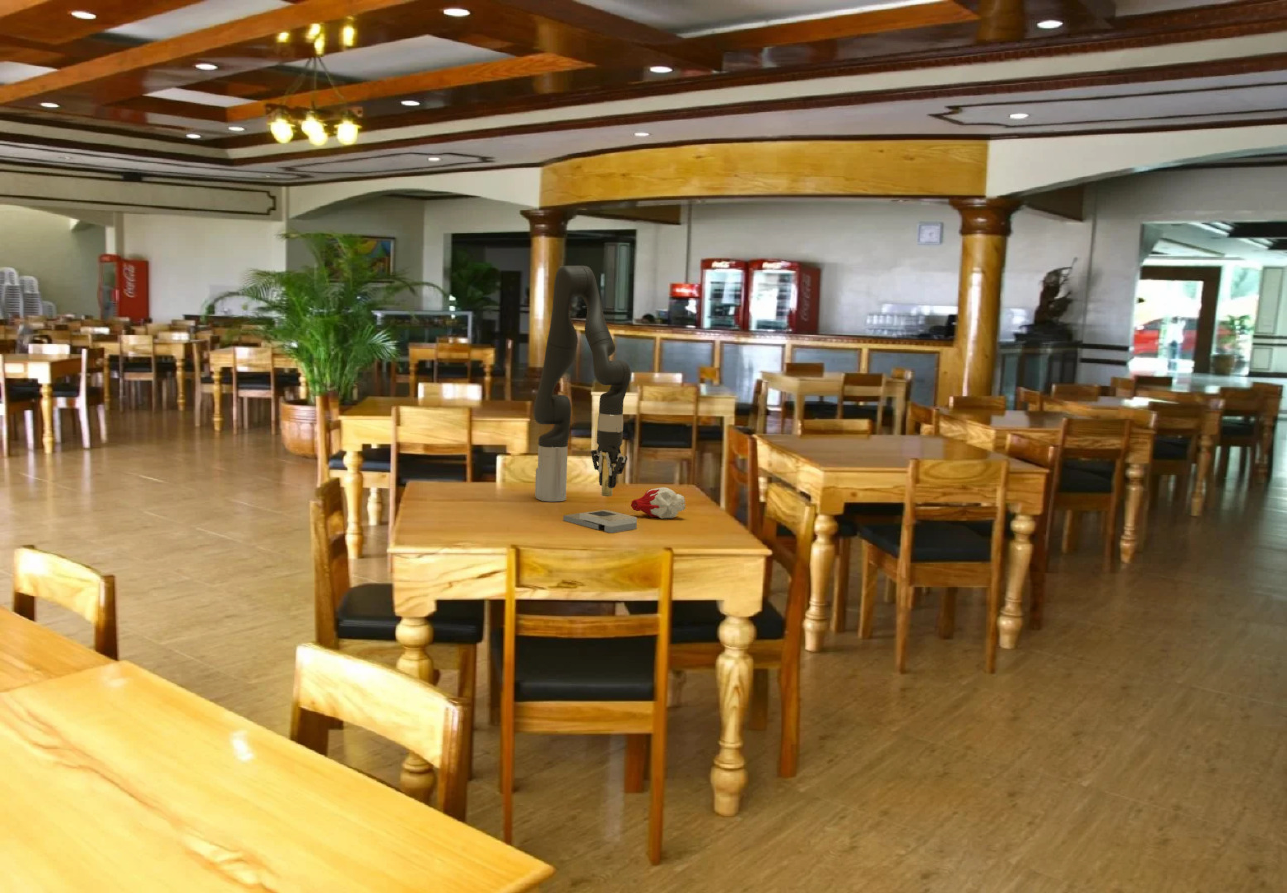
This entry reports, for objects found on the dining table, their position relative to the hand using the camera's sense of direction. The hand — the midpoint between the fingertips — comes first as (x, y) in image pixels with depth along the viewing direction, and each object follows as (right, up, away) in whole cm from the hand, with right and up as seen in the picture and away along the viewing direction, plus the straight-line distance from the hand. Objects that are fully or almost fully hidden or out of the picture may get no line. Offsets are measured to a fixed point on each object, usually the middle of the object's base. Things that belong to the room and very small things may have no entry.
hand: (607, 486), depth 317 cm
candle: (+14, -9, +4) cm, 18 cm away
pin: (0, -3, 0) cm, 3 cm away
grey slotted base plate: (-1, -11, -11) cm, 16 cm away
